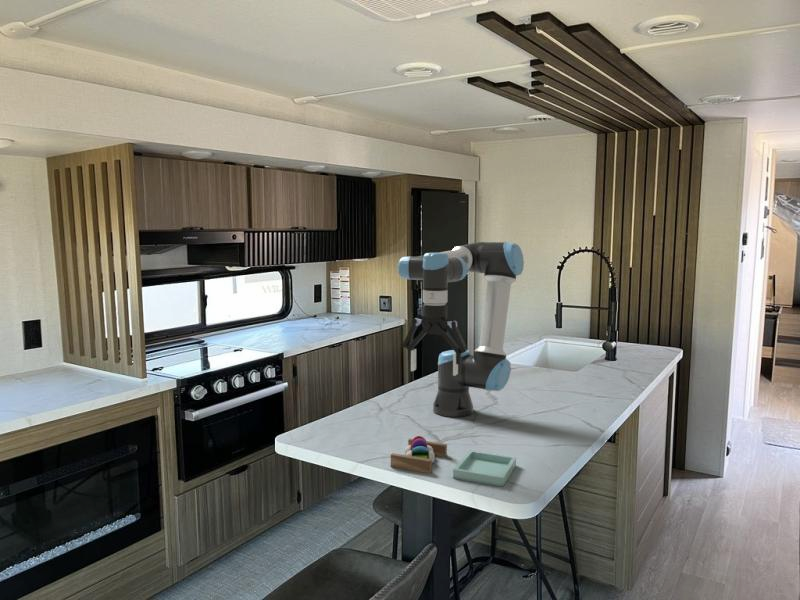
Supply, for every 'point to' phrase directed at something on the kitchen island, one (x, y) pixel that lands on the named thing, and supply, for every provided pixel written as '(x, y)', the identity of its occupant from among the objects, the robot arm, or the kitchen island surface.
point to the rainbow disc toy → (420, 449)
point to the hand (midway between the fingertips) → (434, 372)
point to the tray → (485, 468)
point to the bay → (418, 458)
